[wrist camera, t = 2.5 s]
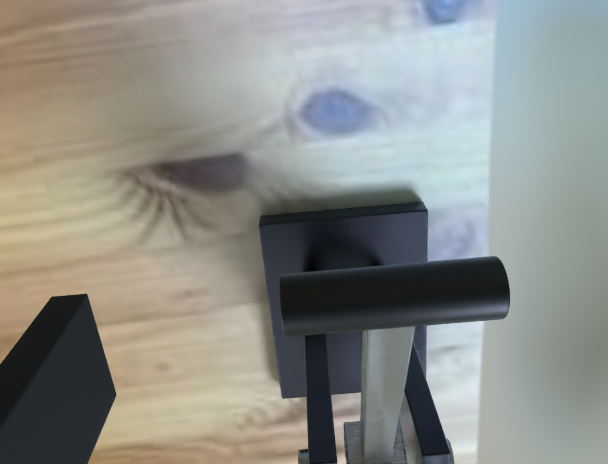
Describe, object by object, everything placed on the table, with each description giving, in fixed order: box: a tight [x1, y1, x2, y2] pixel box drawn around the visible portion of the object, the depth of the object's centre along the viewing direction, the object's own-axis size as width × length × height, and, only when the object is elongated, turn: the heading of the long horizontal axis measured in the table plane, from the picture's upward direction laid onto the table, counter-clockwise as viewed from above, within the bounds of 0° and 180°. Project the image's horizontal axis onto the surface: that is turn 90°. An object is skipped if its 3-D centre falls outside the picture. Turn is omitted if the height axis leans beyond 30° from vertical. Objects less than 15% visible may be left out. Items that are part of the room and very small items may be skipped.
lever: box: [279, 256, 510, 464], centre depth 17 cm, size 14×5×2 cm, turn 5°
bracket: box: [259, 202, 454, 464], centre depth 26 cm, size 12×9×14 cm
